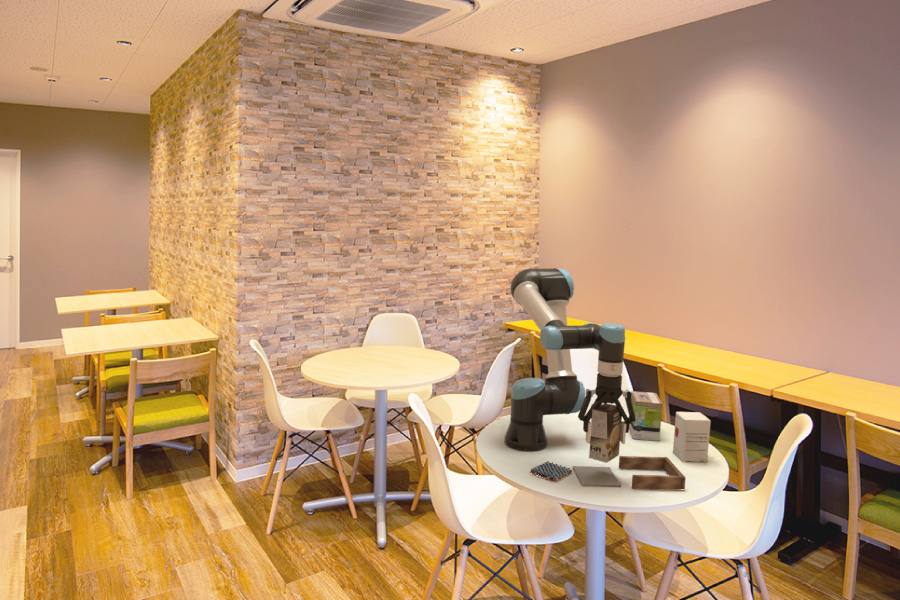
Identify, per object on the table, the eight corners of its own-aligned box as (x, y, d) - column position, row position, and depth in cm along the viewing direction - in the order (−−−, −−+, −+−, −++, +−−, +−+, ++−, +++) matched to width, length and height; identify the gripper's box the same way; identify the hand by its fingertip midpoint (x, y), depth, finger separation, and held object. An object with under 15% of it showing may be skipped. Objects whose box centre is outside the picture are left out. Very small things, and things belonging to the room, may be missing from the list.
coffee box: (607, 463, 193) (610, 413, 191) (588, 458, 197) (591, 408, 195) (619, 455, 200) (623, 406, 198) (601, 449, 204) (604, 402, 202)
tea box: (660, 441, 233) (663, 403, 231) (632, 439, 234) (635, 401, 232) (653, 428, 247) (656, 391, 245) (627, 426, 249) (630, 390, 247)
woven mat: (527, 474, 201) (527, 468, 201) (546, 465, 209) (546, 459, 208) (555, 485, 194) (555, 478, 194) (573, 475, 202) (574, 469, 201)
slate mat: (581, 486, 192) (581, 484, 192) (572, 467, 206) (572, 466, 206) (620, 487, 192) (620, 485, 192) (609, 468, 206) (609, 466, 206)
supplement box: (671, 452, 223) (675, 411, 220) (696, 452, 223) (700, 411, 221) (681, 462, 214) (685, 419, 212) (707, 462, 214) (711, 420, 212)
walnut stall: (632, 488, 191) (633, 476, 191) (618, 467, 207) (619, 456, 207) (684, 490, 191) (685, 477, 191) (666, 468, 207) (667, 457, 207)
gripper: (575, 376, 191) (571, 445, 194) (650, 377, 191) (644, 447, 195) (570, 369, 198) (566, 436, 201) (642, 371, 199) (637, 438, 202)
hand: (605, 442), depth 198 cm, fingers closed on coffee box, 10 cm apart
